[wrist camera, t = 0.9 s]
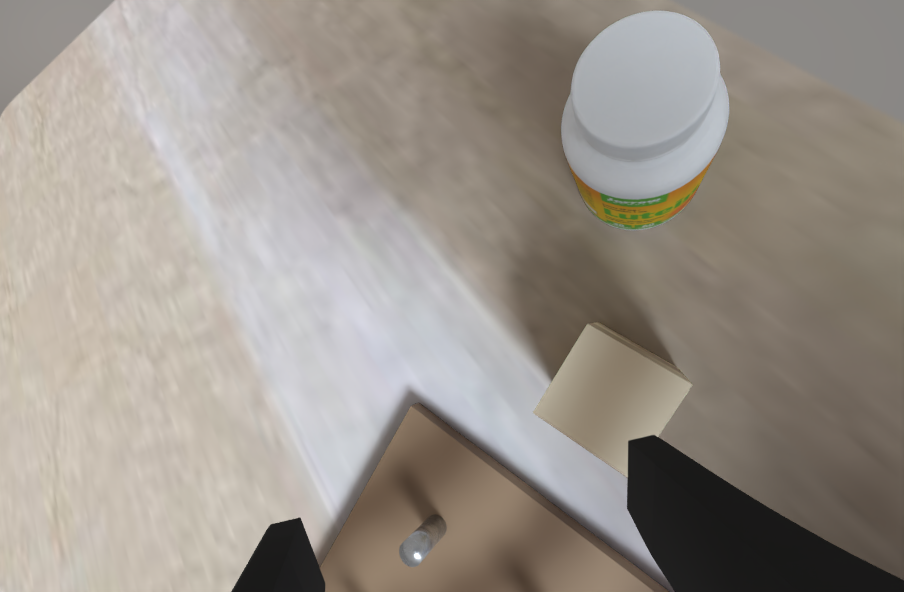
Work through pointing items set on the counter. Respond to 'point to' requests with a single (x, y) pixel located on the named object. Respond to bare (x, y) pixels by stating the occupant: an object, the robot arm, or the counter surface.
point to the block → (611, 394)
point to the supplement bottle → (644, 118)
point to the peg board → (464, 527)
